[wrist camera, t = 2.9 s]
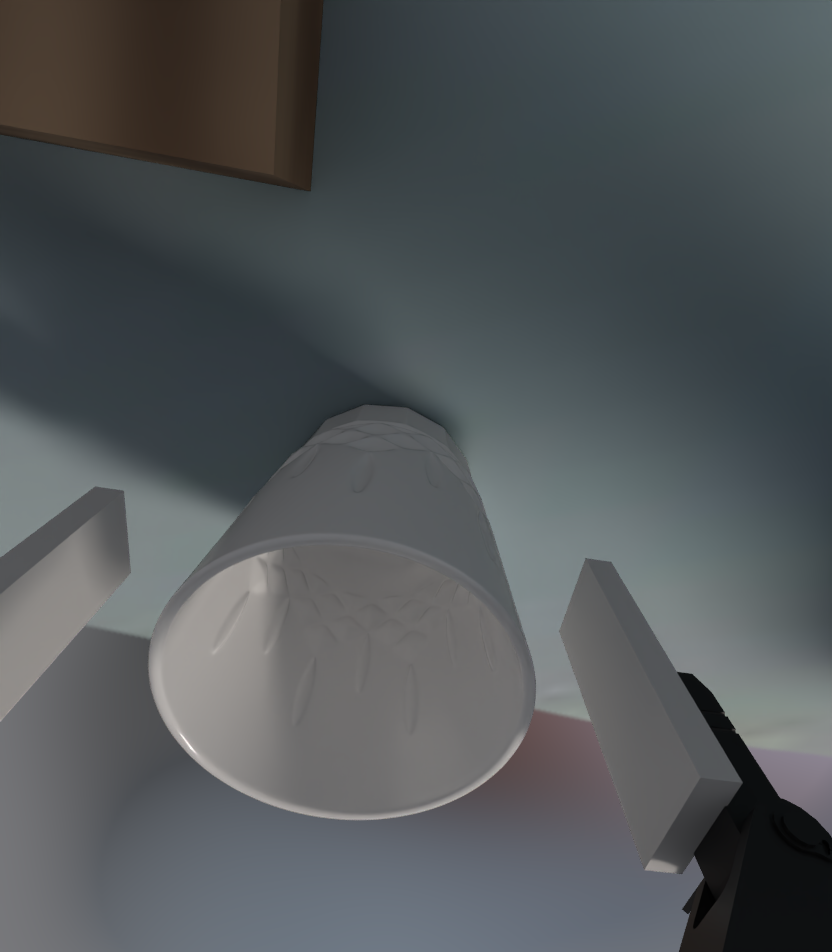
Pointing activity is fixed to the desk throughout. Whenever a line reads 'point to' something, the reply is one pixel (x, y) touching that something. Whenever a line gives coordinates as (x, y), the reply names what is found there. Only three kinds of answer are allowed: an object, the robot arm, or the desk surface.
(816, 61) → the desk surface
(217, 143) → the walnut base
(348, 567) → the white cup
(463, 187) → the desk surface
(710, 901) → the robot arm
